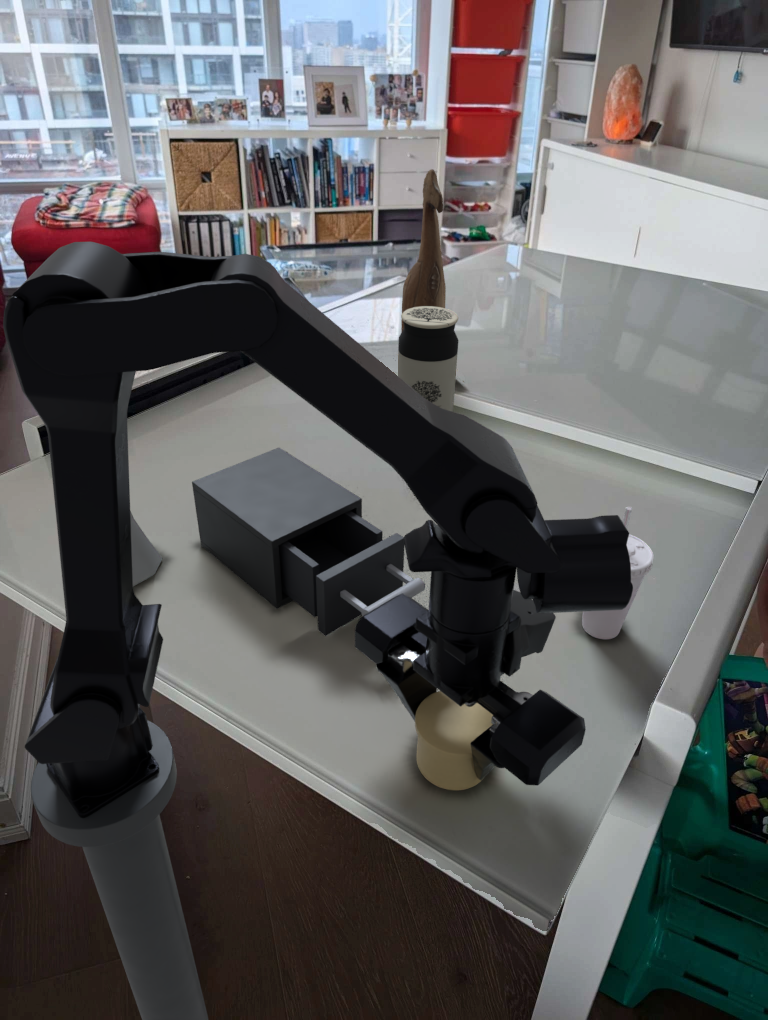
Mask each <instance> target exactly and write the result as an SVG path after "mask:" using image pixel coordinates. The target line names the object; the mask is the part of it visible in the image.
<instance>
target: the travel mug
mask: <svg viewBox="0 0 768 1020" xmlns="http://www.w3.org/2000/svg"><path fill="white" fill-rule="evenodd" d="M400 318H401V320H403V322H404V329H403V331H402V330H401V333H400V334H399V336H398V347H397V348H398V349H397V355H398V377H400V378H401V379H402V380H403V381H404V382H405V383H407V384H408V385H409V386H410V387H411V388H413V389H414V390H415V391H416V392H417V393H419V394H420V395H421V396H422V397H423V398H425V399H426V400H428V401H430V402H431V403H433V404H435V405H437V406H438V407H440V408H442V409H445V410H449V411H453V412H454V404H455V394H456V393H455V391H456V378H457V377H456V369H457V365H458V355H459V354H458V352H459V338H458V335H457V333H456V332H455V331H456V329H455V328H456V324H457V323H458V321H459V315H458V314H457V313H456V312H455V311H453V310H451V309H448V308H446V307H445V308H441V307H434V306H421V307H414V308H410V309H407V310H405V311H404V312H403V313H402V312H401V314H400Z"/></svg>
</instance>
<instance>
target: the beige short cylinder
mask: <svg viewBox="0 0 768 1020" xmlns="http://www.w3.org/2000/svg"><path fill="white" fill-rule="evenodd" d="M492 716H493V714H491V713H490V712H489V711H487V710H486V709H485V708H483V707H482V706H481V705H479V704H478V703H476V704H475V705H473V706H472V707H468V706H466V705H465V704H464V705H462V706H459V705H458V704H457V703H455V702H454V701H453V700H452V699H450V698H449V697H448V696H446V695H445V694H444V693H443V692H441V691H440V690H439V691H438V690H437V692H435V693H433V694H431V695H429V696H428V697H426V698H425V699H424V700H423V701H422V702H421V704H420V705H419V707H418V709H417V711H416V715H415V722H414V727H415V731H416V735H417V740H416V741H417V742H416V744H417V745H416V758H415V759H416V764H417V767H418V770H419V771H420V773H421V774H422V776H423V777H424V778H425V779H426V780H427V781H428V782H429V783H430V784H432V785H434V786H436V787H438V788H440V789H444V790H447V791H465V790H468V789H471V788H474V787H476V786H477V785H478V784H480V783H481V782H482V781H483V780H484V778H483V779H482V780H479V779H478V778H477V776H476V773H475V770H474V764H473V757H472V751H471V745H470V744H471V742H472V741H473V740H474V739H476V738H477V737H478V736H479V735H481V734H482V733H483V732H484V731H485V730H487V729H488V728H489V727H490V726H492V725H493V724H492V723H491V719H492Z"/></svg>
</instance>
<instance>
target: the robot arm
mask: <svg viewBox="0 0 768 1020" xmlns="http://www.w3.org/2000/svg"><path fill="white" fill-rule="evenodd" d="M2 327H3V328H2V329H3V332H4V333H3V334H4V337H5V341H6V344H7V347H8V350H9V354H10V356H11V360H12V363H13V366H14V370H15V372H16V375H17V379H18V382H19V385H20V388H21V392H22V393H23V395H24V396H25V398H26V400H27V401H28V402H29V404H30V405H31V407H32V408H33V409H34V411H35V412H36V413H37V415H38V417H39V418H40V420H41V421H42V422H43V424H44V426H45V429H46V432H47V438H48V439H47V440H48V449H49V458H50V459H49V460H50V468H51V470H50V471H51V478H52V480H51V481H52V489H53V498H54V509H55V519H56V529H57V540H58V550H59V560H60V570H61V571H60V572H61V580H62V589H63V598H64V599H63V600H64V610H65V625H64V630H63V635H62V639H61V643H60V646H59V647H60V648H59V651H58V655H57V658H56V659H55V663H54V666H53V669H52V671H51V674H50V676H49V679H48V682H47V685H46V687H45V690H44V693H43V695H42V698H41V701H40V704H39V706H38V708H37V709H38V710H37V712H36V713H35V717H34V720H33V722H32V725H31V728H30V730H29V733H28V736H27V738H26V741H25V744H24V749H25V750H26V751H27V753H29V754H30V755H31V756H32V757H33V758H34V759H35V761H36V762H37V763H38V762H39V763H40V764H46V765H47V768H48V770H49V772H50V773H51V775H52V776H53V778H54V779H55V781H56V782H57V784H58V785H59V787H60V788H61V790H62V791H63V793H64V794H65V796H66V797H67V799H68V800H69V802H70V803H71V805H72V806H73V808H74V810H75V811H76V813H77V814H78V816H79V817H80V818H86V817H88V816H90V815H92V814H93V813H95V812H96V811H98V810H100V809H101V808H103V807H104V806H106V805H108V804H109V803H111V802H112V801H114V800H116V799H117V798H119V797H120V796H122V795H124V794H125V793H127V792H128V791H130V790H132V789H133V788H135V787H136V786H138V785H140V784H141V783H143V782H144V781H146V780H148V779H149V778H151V777H152V776H154V775H156V774H157V773H158V772H159V765H158V763H157V762H156V760H155V759H154V758H153V757H152V755H151V754H150V753H149V752H148V751H150V750H152V747H153V744H152V739H151V735H150V731H149V726H148V722H147V720H148V718H147V713H146V712H145V711H144V710H143V709H142V708H141V706H143V707H144V708H148V707H149V706H150V703H151V698H152V694H153V689H154V685H155V680H156V675H157V672H158V671H157V670H158V666H159V661H160V657H161V652H162V647H163V643H164V637H163V636H162V634H161V632H160V629H159V618H160V614H161V611H162V604H161V603H152V604H143V603H142V602H141V601H140V600H139V598H138V597H137V595H136V594H135V590H134V586H133V576H132V547H131V517H130V511H131V495H130V493H131V492H130V490H131V489H130V464H129V463H130V461H129V435H128V408H129V403H130V400H131V399H130V398H131V394H132V390H133V385H134V380H135V377H136V374H137V372H145V371H152V370H156V369H160V368H164V367H167V366H170V365H174V364H175V365H176V364H178V363H181V362H185V361H189V360H192V359H196V358H200V357H203V356H204V357H205V356H208V355H211V354H217V353H231V352H232V353H233V352H241V353H242V354H243V355H245V356H246V357H247V358H249V359H250V360H251V361H253V363H255V364H256V365H258V366H259V367H260V368H262V369H263V370H265V371H266V372H267V373H269V374H270V375H271V376H273V378H275V380H276V379H277V380H278V381H279V382H280V383H282V384H283V385H284V386H286V387H287V388H288V389H289V390H290V391H292V392H293V393H294V394H295V395H297V396H299V398H301V399H302V400H304V401H305V402H306V403H308V404H309V405H310V406H312V407H313V408H314V409H316V410H317V411H318V412H320V414H322V415H323V416H325V417H326V418H328V420H330V421H331V422H332V423H334V424H335V425H337V426H338V428H340V429H342V430H343V431H345V432H346V433H347V434H348V435H349V436H351V437H352V438H354V439H355V440H356V441H358V442H359V443H360V444H361V445H363V446H364V447H365V448H367V449H368V450H369V451H371V452H372V453H373V454H375V455H376V456H377V457H378V458H380V459H381V460H382V461H384V462H386V464H387V465H389V466H390V467H391V468H392V469H393V470H394V471H395V472H396V473H397V474H398V475H399V477H401V479H402V480H403V481H404V482H405V484H406V486H407V487H408V489H409V490H410V491H411V493H412V494H413V495H414V497H415V498H416V500H417V501H418V503H419V505H420V506H421V507H422V509H423V510H424V512H425V513H426V514H427V515H428V516H429V517H430V519H427V520H426V521H424V523H423V525H421V526H419V527H416V528H414V529H411V531H409V532H408V533H406V534H405V535H404V536H403V537H404V551H405V555H406V559H407V565H408V569H409V571H410V572H412V573H430V581H429V582H430V584H429V595H428V596H429V598H428V608H427V607H425V606H424V605H422V604H421V603H420V602H418V601H417V600H415V599H414V598H413V597H412V598H411V597H409V596H407V595H405V594H403V593H402V594H400V595H398V596H396V597H394V598H392V599H390V600H389V601H387V602H385V603H384V604H382V605H380V606H379V607H377V608H375V609H374V610H372V611H370V612H369V613H367V614H365V615H364V616H362V615H361V616H360V618H359V619H358V621H357V622H356V624H355V626H354V648H355V649H357V650H358V651H359V652H360V653H362V654H363V655H364V656H365V657H367V658H368V659H369V660H370V661H371V662H373V663H374V664H375V665H376V666H375V667H376V669H377V671H378V672H379V673H380V674H381V675H382V676H383V677H384V679H385V680H386V682H387V683H388V685H389V686H390V687H391V689H392V690H393V692H394V693H395V694H396V696H397V697H398V699H399V700H400V702H401V703H402V705H403V707H405V709H406V711H407V712H408V714H409V715H410V717H411V719H412V720H413V722H414V723H415V715H416V711H417V709H418V707H419V705H420V704H421V702H422V701H423V700H424V699H425V698H426V697H428V696H429V695H431V694H433V693H435V692H438V690H439V691H441V692H443V693H444V694H445V695H446V696H448V697H449V698H450V699H452V700H453V701H454V702H455V703H457V704H458V705H459V706H462V705H464V704H465V705H466V706H468V707H472V706H473V705H475V704H476V703H478V704H479V705H481V706H482V707H483V708H485V709H486V710H487V711H489V712H490V713H491V714H493V716H492V719H491V723H492V724H493V725H492V726H490V727H489V728H488V729H487V730H485V731H484V732H483V733H482V734H481V735H479V736H478V737H477V738H476V739H474V740H473V741H472V742H471V744H470V745H471V751H472V757H473V764H474V770H475V773H476V776H477V778H478V779H479V780H482V779H483V780H484V779H485V778H486V777H487V776H489V774H490V773H491V772H492V771H493V769H494V768H495V767H496V768H498V769H506V770H507V771H508V772H509V773H511V775H513V776H514V777H515V778H517V779H518V780H519V781H521V783H523V784H524V785H526V786H539V785H540V784H541V783H542V782H544V780H546V779H547V778H548V777H549V776H550V775H551V774H552V773H554V771H555V770H556V769H557V768H558V767H560V766H561V765H562V764H563V763H564V762H565V761H566V760H567V759H568V758H569V757H571V756H572V754H574V753H575V752H576V751H577V750H578V749H579V748H580V747H581V746H583V742H584V738H585V734H586V721H585V718H584V717H583V716H581V715H580V714H579V713H577V712H576V711H574V710H573V709H571V708H570V707H568V706H567V705H566V704H564V703H563V702H562V701H560V700H558V699H557V698H556V697H554V696H553V695H551V694H550V693H548V692H547V691H545V690H542V689H539V690H537V691H536V692H535V693H534V694H532V693H531V692H528V691H515V689H513V688H511V687H510V686H509V685H507V684H506V683H504V682H503V681H502V680H501V678H502V676H503V675H504V674H505V675H506V676H508V677H509V678H510V677H512V676H513V675H514V674H515V673H516V672H518V671H519V670H520V669H521V664H522V659H523V658H524V657H528V656H530V655H533V654H541V653H542V652H543V651H544V649H545V647H546V643H547V641H548V638H549V636H550V633H551V631H552V628H553V626H554V624H555V621H556V618H557V616H556V614H557V613H560V614H561V613H580V612H582V613H583V611H604V610H622V609H624V608H626V606H627V605H628V603H629V601H630V599H631V596H632V591H633V585H632V583H631V565H630V557H629V553H628V549H627V541H628V537H629V534H630V532H629V530H628V527H627V528H626V527H625V525H624V524H623V522H622V521H623V519H621V517H620V516H619V515H618V514H611V515H610V514H607V515H599V516H594V517H589V518H567V519H566V518H565V519H563V518H562V519H545V518H544V516H543V514H542V512H541V510H540V508H539V506H538V500H537V498H536V495H535V493H534V491H533V488H532V486H531V484H530V482H529V480H528V478H527V475H526V474H525V472H524V470H523V468H522V465H521V463H520V461H519V458H518V457H517V454H516V452H515V451H514V449H513V446H512V445H511V444H510V442H509V441H508V440H507V439H506V438H505V437H503V436H502V435H501V434H499V433H497V432H495V431H493V430H492V429H490V428H489V427H487V426H486V425H485V426H484V425H483V424H481V423H480V422H478V421H476V420H474V419H473V418H471V417H469V416H467V415H465V414H462V413H461V412H460V413H459V412H456V411H454V410H453V411H449V410H445V409H442V408H440V407H438V406H437V405H435V404H433V403H431V402H430V401H428V400H426V399H425V398H423V397H422V396H421V395H420V394H419V393H417V392H416V391H415V390H414V389H413V388H411V387H410V386H409V385H408V384H407V383H405V382H404V381H403V380H402V379H401V378H400V377H398V376H397V375H396V374H395V373H394V372H392V371H391V370H390V369H389V368H388V367H386V366H385V365H384V364H383V363H382V362H380V361H379V359H378V358H377V357H376V356H375V355H374V354H372V353H371V352H370V351H369V350H367V349H366V348H365V347H364V346H363V345H362V344H360V343H359V342H358V341H357V340H355V339H354V338H353V337H352V336H350V335H349V334H348V332H346V331H345V330H344V329H343V328H341V327H340V326H339V325H338V324H337V323H336V322H335V321H333V320H332V319H330V317H328V316H327V315H326V314H324V313H323V312H322V311H321V310H320V309H319V308H317V306H315V305H314V304H313V303H311V302H310V301H309V300H308V299H306V297H304V296H303V295H302V294H301V293H300V292H298V291H297V290H296V289H295V288H293V286H291V285H290V284H289V283H288V282H286V280H285V279H284V278H283V277H282V276H281V274H280V272H279V271H278V270H277V268H276V267H275V266H274V265H273V264H272V263H270V262H269V261H268V260H266V259H264V258H263V257H261V256H259V255H253V254H249V253H241V254H236V255H222V256H221V255H220V256H205V255H198V254H197V255H196V254H188V253H180V252H179V253H177V252H169V251H151V252H150V251H148V252H133V253H132V252H131V253H121V252H119V251H117V250H116V249H114V248H113V247H111V246H108V245H106V244H102V243H98V242H94V241H74V242H71V243H68V244H66V245H62V246H59V248H57V250H55V251H54V252H53V253H52V254H51V255H50V256H48V257H47V259H45V261H43V262H42V264H41V265H40V266H39V267H38V268H37V269H35V271H33V273H32V274H30V275H29V277H28V278H26V279H25V280H24V282H22V284H21V285H20V286H19V287H18V288H17V289H16V290H15V291H14V292H13V293H12V294H11V296H10V298H9V299H8V300H7V303H6V305H5V308H4V310H3V321H2ZM516 578H517V585H518V590H515V589H514V588H515V582H516ZM153 767H154V769H152V770H150V769H151V768H153ZM483 780H482V781H483ZM84 809H87V810H86V811H85V812H82V811H83V810H84Z"/></svg>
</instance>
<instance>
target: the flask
mask: <svg viewBox="0 0 768 1020" xmlns="http://www.w3.org/2000/svg"><path fill="white" fill-rule="evenodd" d="M130 517H131V547H132V576H133V587H135V586H136V585H138V584H140V583H142V582H144V581H145V580H147V579H149V578H151V577H153V576H154V575H156V573H157V570H158V569H159V566H160V565H161V563H162V560H163V557H162V556H161V554H160V553H159V551H158V550H157V549H156V547H155V546H154V545H153V543H152V542H151V541H150V539H149V538H148V537H147V535H146V534H145V532H144V531H143V530H142V528H141V526H140V525H139V523H138V522H137V521H136V519H135V517H134V515H133V513H132V510H130Z"/></svg>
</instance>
